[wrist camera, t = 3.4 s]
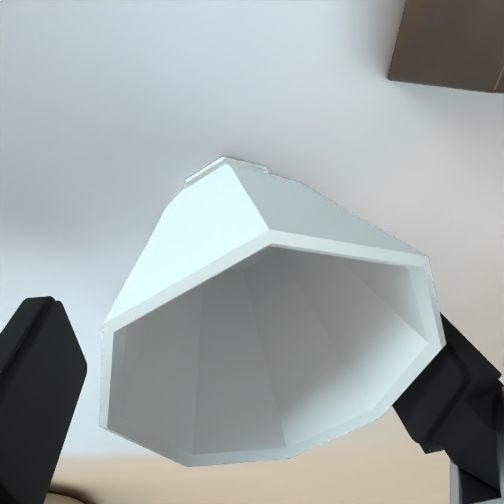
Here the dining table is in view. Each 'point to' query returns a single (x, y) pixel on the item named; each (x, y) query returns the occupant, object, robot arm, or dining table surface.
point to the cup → (262, 323)
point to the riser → (451, 45)
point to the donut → (60, 499)
